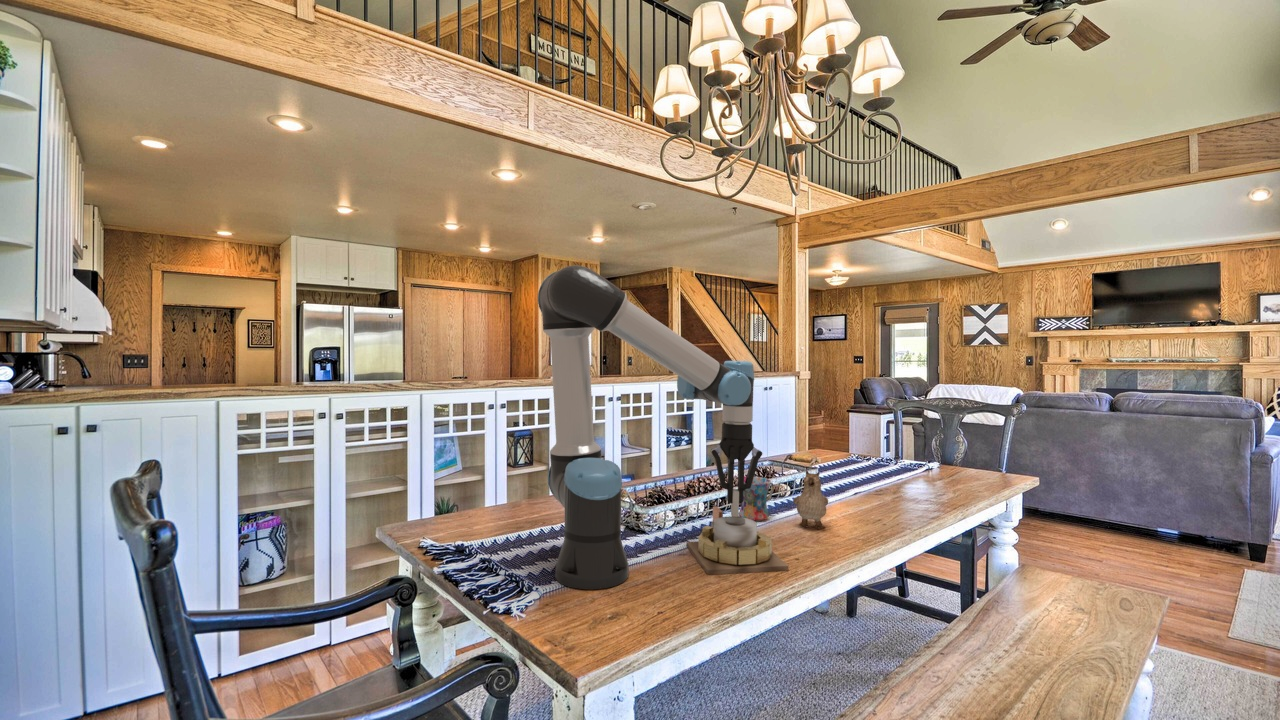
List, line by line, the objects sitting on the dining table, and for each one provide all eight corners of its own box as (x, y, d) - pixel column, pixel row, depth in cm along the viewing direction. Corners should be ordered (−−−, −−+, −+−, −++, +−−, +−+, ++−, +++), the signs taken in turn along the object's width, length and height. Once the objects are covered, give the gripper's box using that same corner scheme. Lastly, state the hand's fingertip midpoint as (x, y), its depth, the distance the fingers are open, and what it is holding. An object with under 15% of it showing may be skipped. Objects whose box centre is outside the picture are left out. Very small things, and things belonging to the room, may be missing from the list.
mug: (753, 524, 161) (753, 485, 161) (730, 516, 169) (730, 478, 169) (784, 518, 168) (785, 480, 167) (761, 510, 175) (762, 474, 175)
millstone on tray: (782, 562, 129) (782, 534, 129) (711, 566, 127) (711, 537, 126) (744, 529, 152) (744, 505, 152) (683, 531, 150) (684, 507, 149)
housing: (707, 574, 125) (708, 533, 125) (685, 545, 144) (686, 508, 144) (788, 570, 129) (789, 529, 128) (756, 541, 147) (757, 506, 147)
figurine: (791, 529, 157) (793, 473, 157) (793, 519, 166) (794, 466, 166) (828, 533, 154) (829, 475, 154) (827, 522, 164) (828, 468, 163)
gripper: (760, 421, 153) (757, 512, 154) (709, 419, 153) (707, 511, 154) (766, 424, 146) (763, 520, 146) (713, 423, 146) (710, 519, 146)
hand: (734, 515), depth 150 cm, fingers closed
